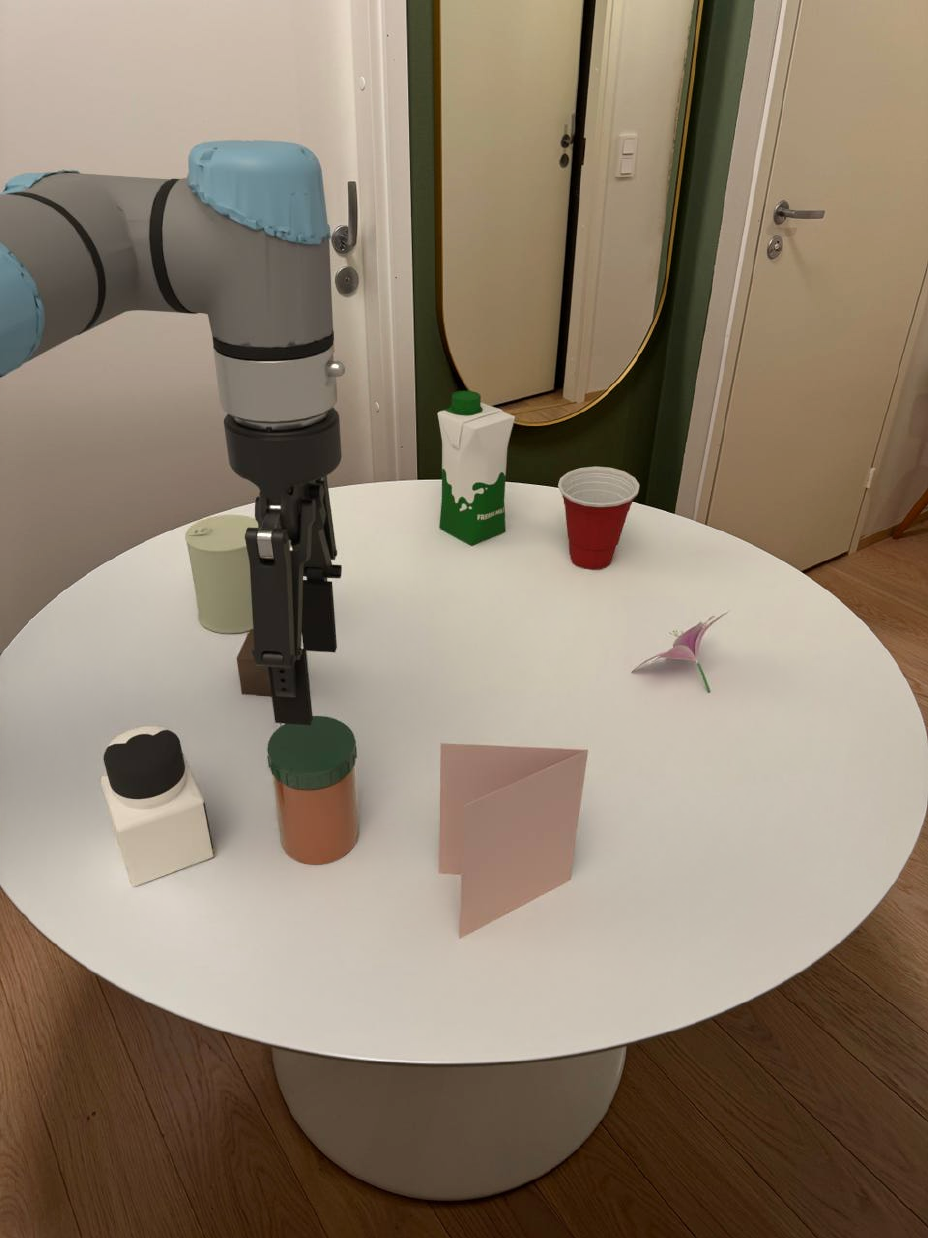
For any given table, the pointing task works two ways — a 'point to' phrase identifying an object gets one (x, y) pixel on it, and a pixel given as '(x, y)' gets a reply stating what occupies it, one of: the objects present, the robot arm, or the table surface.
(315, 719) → the lid
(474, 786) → the greeting card
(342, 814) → the jar
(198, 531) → the can
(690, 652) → the lily
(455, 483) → the milk carton
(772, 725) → the table surface
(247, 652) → the riser
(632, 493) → the plastic cup
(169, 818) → the medicine bottle
